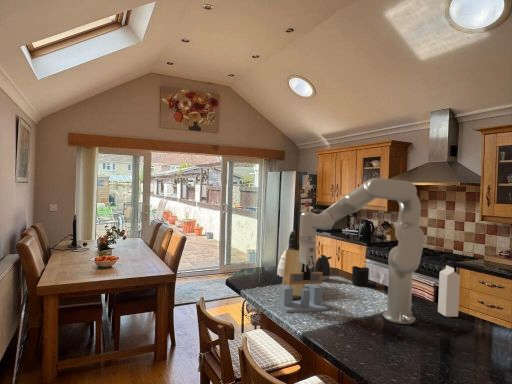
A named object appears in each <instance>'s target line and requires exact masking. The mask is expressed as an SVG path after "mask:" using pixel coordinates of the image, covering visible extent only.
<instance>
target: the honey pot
mask: <svg viewBox="0 0 512 384" xmlns="http://www.w3.org/2000/svg"><path fill="white" fill-rule="evenodd" d="M288 247H289V246H287V247H286V249H284V251H283V253H282V254H281V255H280V258H279V262H278V265H277V271H276V275H277V276H278V275H279V276H278V277H280V278H281V277H282V278H283V273H284V263H285V254H286V250H288Z"/></svg>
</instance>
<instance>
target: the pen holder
mask: <svg viewBox="0 0 512 384" xmlns="http://www.w3.org/2000/svg"><path fill="white" fill-rule="evenodd" d="M351 268H352V270H351V273H352V274H351V276H352V277H351V280H352V281H351V282H352V283H351V284H352V285H354V286H355V287H361V288H366V287H368V285H369V275H370V268H369V267H367V266H363V267H360V266H357V265H353V266H352V267H351Z"/></svg>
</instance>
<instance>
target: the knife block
mask: <svg viewBox="0 0 512 384" xmlns="http://www.w3.org/2000/svg"><path fill="white" fill-rule="evenodd" d="M295 239H296V231H294V230H292V231H291V232H290V234H289V238H288V246H287V247H288V250H286V249H285V250H286V254H285V263H284V273H283V275H286V276H288V275H289V273H292V272H301V270H302V269H301V263H300V261H299V247H300V244H299V245H297V246H296V242H295V241H296V240H295ZM281 285H289V284H288V283H287V282H286V281H285V280H284V279H283V278H282V284H281ZM305 285H306V284H294V285H289V286H290V287H292V288H293V300H297V301H298V300H301V289H305Z"/></svg>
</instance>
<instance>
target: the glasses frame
mask: <svg viewBox="0 0 512 384" xmlns="http://www.w3.org/2000/svg"><path fill="white" fill-rule="evenodd" d="M303 274H304V272H292V273H289V275H288V276H286V275H283V277H282V280H283V279H284V280H285V281H286V282H287V283H288V284H289V285H294V284H305V285H310V284H318V285H321V284H323V281H322V275H323V273H322V272H314V271H311V274H310V280H303Z"/></svg>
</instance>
